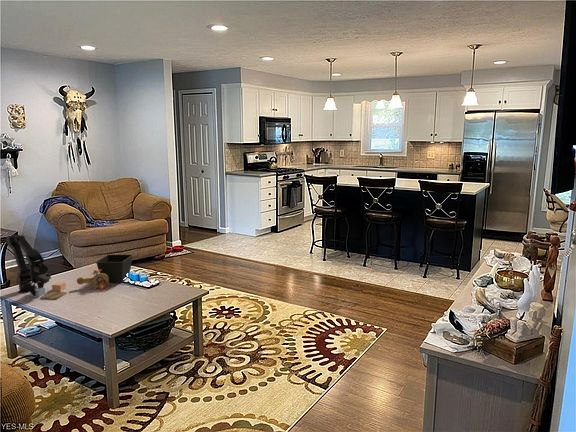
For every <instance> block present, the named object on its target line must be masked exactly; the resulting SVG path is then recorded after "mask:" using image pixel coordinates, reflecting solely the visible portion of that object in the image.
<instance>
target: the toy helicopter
mask: <svg viewBox="0 0 576 432" xmlns="http://www.w3.org/2000/svg"><path fill="white" fill-rule="evenodd" d="M101 270H102V269H101ZM101 270H96V269H95V270H93V272H91V273H90V274H89V275H90V276H91V275H93V277H87V278H84V277H78V278H77V279H76V282H77V283H76V284H78V285H84V284H91V285H92V286H93V287H92V288H93V289H94V290H96V289H99V291H100V290H101V291H104V290H106V288H107V287H108V286H109V285H110V283H109V277H108V275H106V274H104V273H100V272H99V271H101Z"/></svg>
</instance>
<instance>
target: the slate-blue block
mask: <svg viewBox="0 0 576 432" xmlns="http://www.w3.org/2000/svg"><path fill="white" fill-rule="evenodd" d="M35 290H36V295H35V296H33V294H32V293H31V292H30V291H29V295H30V298H38V297H39V298H40V296H41V297H42V295H43V296H44V294H45V295H46V291H45V287H43V288H39V287H38V286H37V287H36V288H35Z"/></svg>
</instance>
